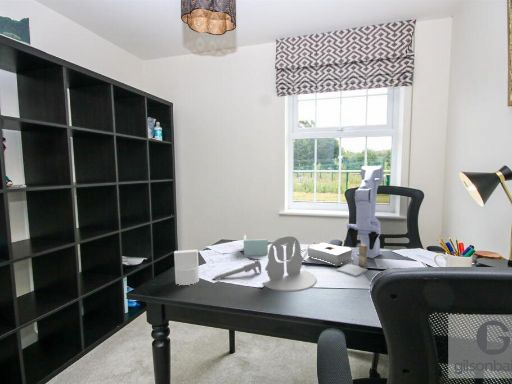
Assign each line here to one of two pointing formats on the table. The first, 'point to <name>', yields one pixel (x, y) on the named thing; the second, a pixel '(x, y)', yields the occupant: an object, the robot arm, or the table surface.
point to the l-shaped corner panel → (255, 247)
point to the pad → (352, 270)
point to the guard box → (330, 253)
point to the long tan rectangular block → (362, 255)
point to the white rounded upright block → (186, 267)
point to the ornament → (287, 267)
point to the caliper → (241, 270)
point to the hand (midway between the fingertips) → (362, 247)
